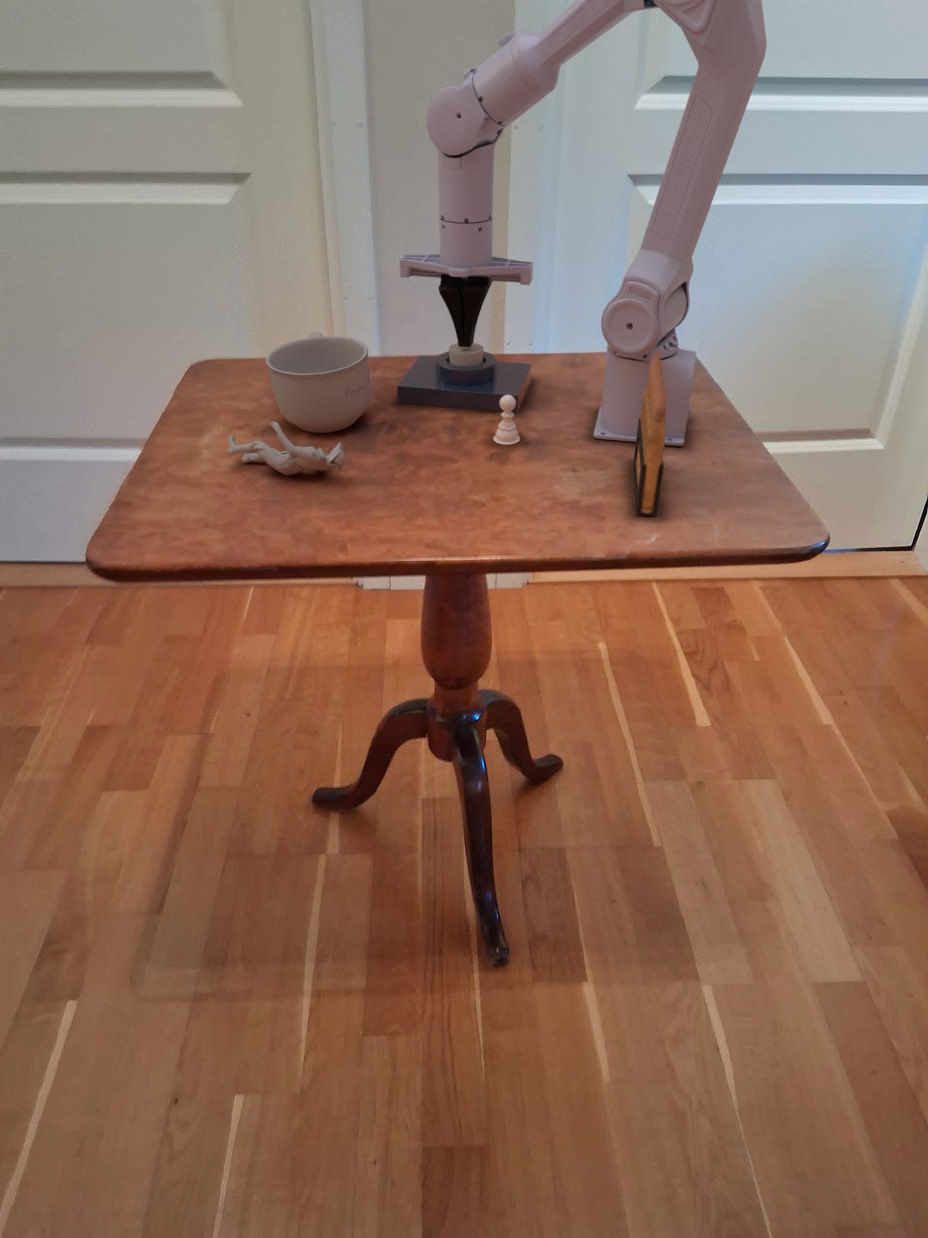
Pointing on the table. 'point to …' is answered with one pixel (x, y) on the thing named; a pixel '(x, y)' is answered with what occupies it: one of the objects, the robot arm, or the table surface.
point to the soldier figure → (289, 455)
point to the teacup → (320, 381)
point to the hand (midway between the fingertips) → (466, 343)
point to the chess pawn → (507, 423)
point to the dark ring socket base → (464, 383)
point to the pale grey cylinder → (466, 355)
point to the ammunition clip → (650, 442)
